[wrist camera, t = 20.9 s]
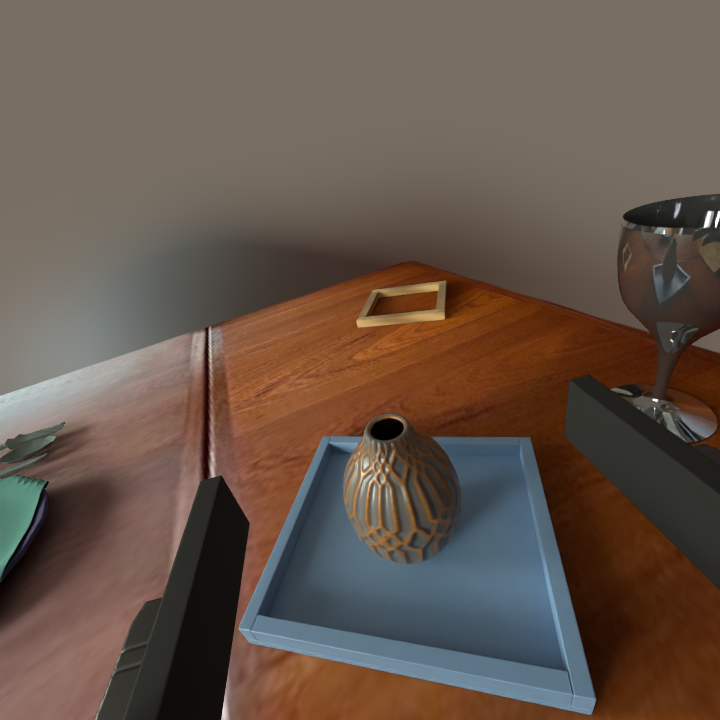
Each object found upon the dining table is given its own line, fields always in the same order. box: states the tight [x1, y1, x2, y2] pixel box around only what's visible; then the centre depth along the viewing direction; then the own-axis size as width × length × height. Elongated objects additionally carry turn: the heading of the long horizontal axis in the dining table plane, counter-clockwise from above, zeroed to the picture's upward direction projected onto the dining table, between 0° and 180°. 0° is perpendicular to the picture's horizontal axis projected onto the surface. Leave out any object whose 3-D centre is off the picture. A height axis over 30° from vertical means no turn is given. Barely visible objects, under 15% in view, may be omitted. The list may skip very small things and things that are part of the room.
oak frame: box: [357, 281, 447, 328], centre depth 56 cm, size 13×13×1 cm
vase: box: [343, 413, 461, 564], centre depth 21 cm, size 7×7×9 cm
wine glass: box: [611, 194, 720, 443], centre depth 24 cm, size 8×8×15 cm
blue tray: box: [239, 436, 596, 715], centre depth 22 cm, size 17×15×2 cm
